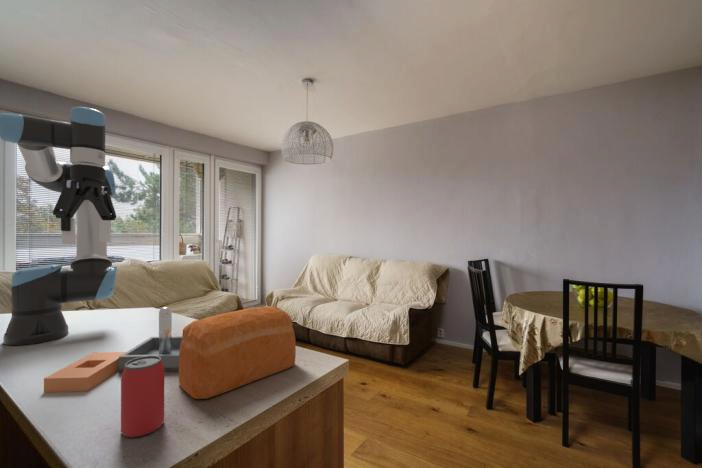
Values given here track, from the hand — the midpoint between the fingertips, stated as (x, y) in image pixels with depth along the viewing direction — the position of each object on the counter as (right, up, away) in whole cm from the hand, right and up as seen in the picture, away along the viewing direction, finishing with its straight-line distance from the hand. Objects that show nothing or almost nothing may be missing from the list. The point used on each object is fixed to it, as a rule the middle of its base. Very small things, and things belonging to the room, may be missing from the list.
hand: (88, 243), depth 89 cm
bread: (+45, -33, -9) cm, 57 cm away
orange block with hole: (+10, -32, -11) cm, 35 cm away
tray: (+22, -32, -1) cm, 39 cm away
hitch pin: (+22, -31, -1) cm, 38 cm away
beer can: (+35, -33, -31) cm, 57 cm away
